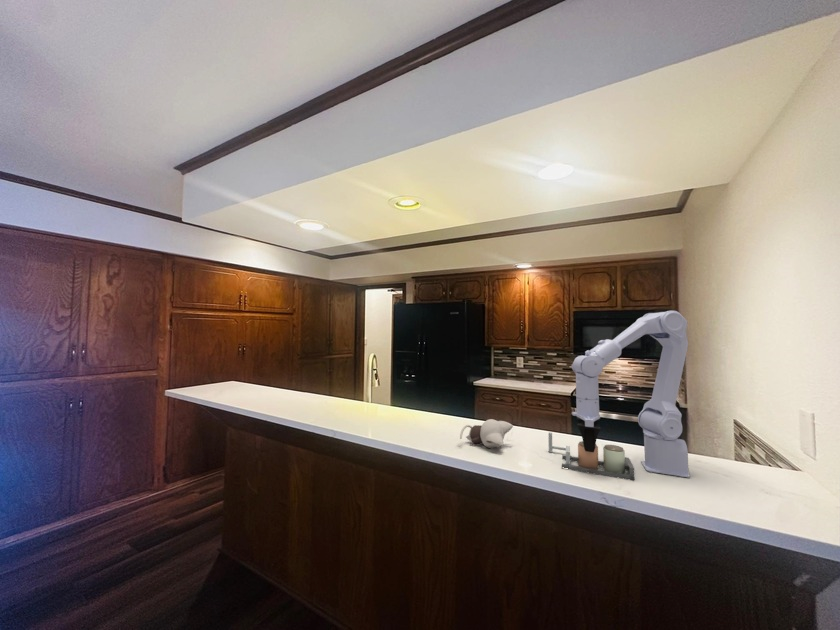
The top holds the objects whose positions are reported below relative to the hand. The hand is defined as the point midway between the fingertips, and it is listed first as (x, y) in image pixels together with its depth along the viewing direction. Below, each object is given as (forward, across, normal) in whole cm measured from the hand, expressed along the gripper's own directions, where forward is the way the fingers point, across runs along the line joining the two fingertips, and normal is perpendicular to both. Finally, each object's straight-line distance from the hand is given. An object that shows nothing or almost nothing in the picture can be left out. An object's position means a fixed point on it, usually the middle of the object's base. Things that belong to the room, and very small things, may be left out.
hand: (588, 447), depth 91 cm
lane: (+6, 0, +2) cm, 6 cm away
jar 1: (+6, 0, 0) cm, 6 cm away
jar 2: (+6, 0, +6) cm, 8 cm away
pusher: (+5, -3, -8) cm, 10 cm away
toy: (+6, -4, -30) cm, 31 cm away
